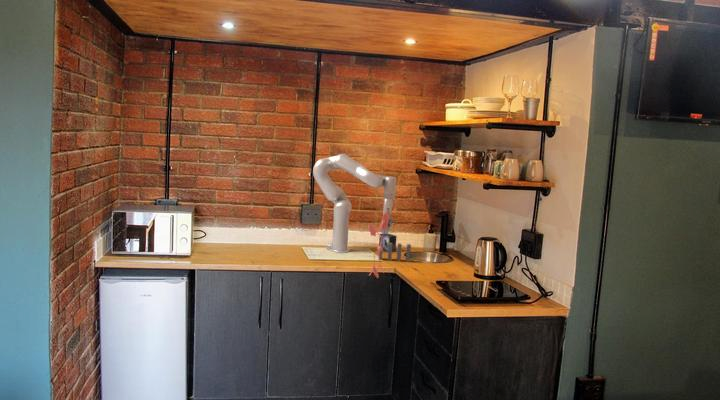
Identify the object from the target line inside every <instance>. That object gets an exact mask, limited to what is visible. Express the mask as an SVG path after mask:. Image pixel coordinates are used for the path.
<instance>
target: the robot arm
mask: <svg viewBox="0 0 720 400" xmlns="http://www.w3.org/2000/svg"><path fill="white" fill-rule="evenodd" d="M339 169H340V170H343V171H345V172H347V173H348V174H350V175H351V176H354V177H355V178H357V179H359V180H360V181H362V182H363V183H364V184H367V185H369V186H370V187H372V188H375V189H379V188H382V187H383V189H382V191H383V192H382V200H383V209H382V213H383V214H385V213H386V211H387V210H388V215H390V217H389V222H390V218H391V216H392V211H393V204H394V203H393V202H394V200H396V193H397V192H396V189H397V178H396V176H392V175H391V176H389V175H388V176H387V175H381V174H376V173H373V172H372V171H370V170H369V169H367V168H366V167H365V166H364V165H363V164H362V163H360V162H358V161H357V160H355V159H353V158H351V157H350V156H349V155H347V154H346V153H339V154H336V155H333V156H328V157H324V158H323V157H322V158H320V159H318V160H317V161H316V162H315V163H314V166H313V170H312V175H313V178H314V180H315V182H316V183H317V185H318V186H319V188H320V190H321V191H322V193H323V194H324V196H325V198H326V199H327V200H328V201H329V202H332V203H333V204H334V206H333V226H332V227H333V229H332V241H331V242H330V243H325V244H324V247H326V248H329V250H328V251H330V252H334V253H340V254H341V253H349V252H350V249H349V248H348V245H349V244H348V243H349V242H348V240H349V225H350V224H349V223H350V222H349V221H350V212H351V211H352V209H353V208H352V207H353V205H352V203H351V202H352V201H350V200H349V198H348V196H347V195H346V193H345V191H344V190H343V189H342V188H341V187H340V186H339V185H336V184H335V183H334V182H333V180H332V178H331V177H330V175H328V172H331V171H335V170H339ZM383 214H382V215H383ZM389 224H390V223H388V227H389Z"/></svg>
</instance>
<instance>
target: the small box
mask: <svg viewBox="0 0 720 400" xmlns="http://www.w3.org/2000/svg"><path fill="white" fill-rule="evenodd" d="M379 234H380V235H381V236H382V242H383V250H384V252H386V251H387V252H386V253H388V247H389V243H392V253H395V252H396V251H397V239H398V238H397V235H396V234H391V233H388V234H383V233H379ZM378 238H379V239H378V241H379V243H378V245H379V244H380V242H381V237H380V236H379V237H378ZM396 253H397V252H396Z"/></svg>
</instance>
